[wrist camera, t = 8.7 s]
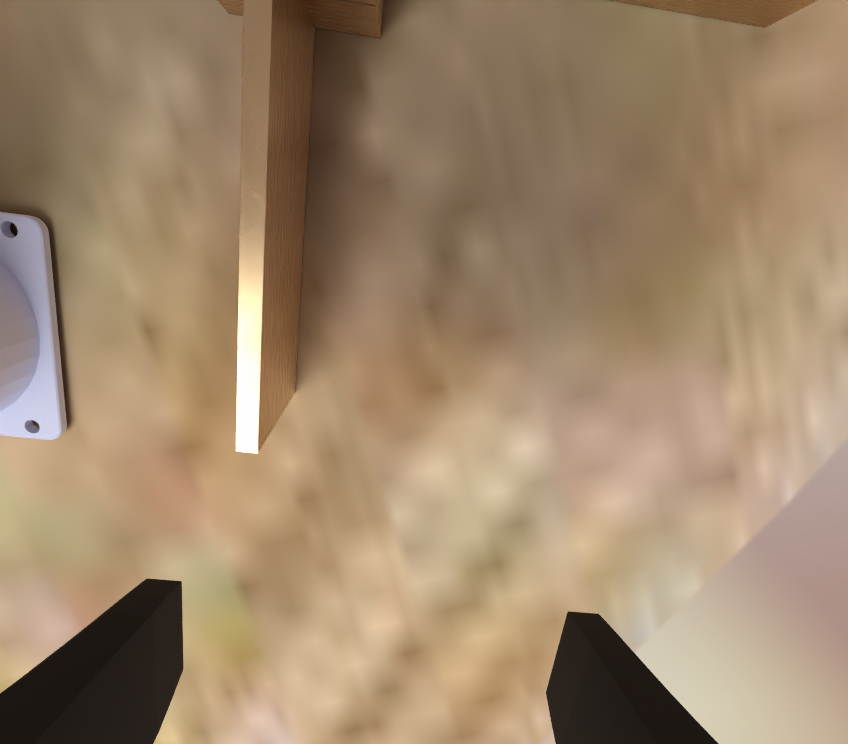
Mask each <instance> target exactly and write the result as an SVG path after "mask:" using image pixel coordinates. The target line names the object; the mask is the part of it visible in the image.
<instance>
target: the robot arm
mask: <svg viewBox="0 0 848 744" xmlns="http://www.w3.org/2000/svg"><path fill="white" fill-rule="evenodd" d="M11 223H14V224H15V225H16V227H17V230H18V233H17V236H14V235H13V234H12V233H11V230H10V224H11ZM32 420H33V421H36V422H37V423H38V424H39V427H40V429H39V428H37V427H35V426H34V425H33V422H32ZM66 429H67V421H66V411H65V400H64V389H63V379H62V368H61V357H60V346H59V336H58V325H57V314H56V304H55V293H54V282H53V272H52V261H51V250H50V239H49V232H48V228H47V226H46V225H45V223H44V222H43V221H42V220H40V219H39V218H37V217H34V216H30V215H23V214H15V213H7V212H0V435H4V436H14V437H24V438H35V439H45V440H53V439H56V438H58V437H59V436H61V435H63V434H64V433H65V431H66ZM182 671H183V629H182V581H170V580H157V579H146V580H145V581H143V582H142V583H141V584H139V585H138V586H137V587H135V588H134V589H133V590H132V591H130V592H129V593H128V594H127V595H125V596H124V597H123V598H122V599H120V600H119V601H118V602H117V603H115V604H114V605H113V606H112V607H110V608H109V609H108V610H107V611H105V612H104V613H103V614H102V615H100V616H99V617H98V618H97V619H96V620H94V621H93V622H92V623H91V624H89V625H88V626H87V627H86V628H84V629H83V630H82V631H81V632H79V633H78V634H77V635H76V636H74V637H73V638H72V639H71V640H69V641H68V642H67V643H65V644H64V645H63V646H62V647H60V648H59V649H58V650H56V651H55V652H54V653H53V654H51V655H50V656H49V657H47V658H46V659H45V660H44V661H42V662H41V663H40V664H38V665H37V666H36V667H35V668H33V669H32V670H31V671H29V672H28V673H27V674H26V675H24V676H23V677H22V678H20V679H19V680H18V681H16V682H15V683H14V684H12V685H11V686H10V687H8V688H7V689H6V690H4V691H3V692H2V693H0V744H153V742H154V740H155V738H156V736H157V734H158V732H159V730H160V727H161V725H162V722H163V720H164V717H165V715H166V712H167V710H168V707H169V705H170V702H171V700H172V697H173V695H174V692H175V689H176V687H177V684H178V681H179V679H180V676H181V674H182ZM546 695H547V700H548V706H549V711H550V717H551V722H552V727H553V732H554V737H555V742H556V744H718V743H717V742H716V741H715V740H714V739H713V738H712V737H711V736H710V735H709V734H708V732H707V731H706V730H704V728H703V727H701V725H700V724H699V723H698V722H697V721H696V720H695V719H694V718H693V717H692V716H691V715H690V714H689V713H688V711H687V710H686V709H685V708H684V707H683V706H682V705H681V704H680V703H679V702H678V701H677V700H676V699H675V697H674V696H673V695H672V694H671V693H670V692H669V691H668V690H667V689H666V688H665V687H664V686H663V684H662V683H661V682H660V681H659V680H658V679H657V678H656V677H655V676H654V675H653V673H652V672H651V671H650V670H649V669H648V668H647V667H646V666H645V664H643V662H642V661H641V660H640V659H639V658H638V657H637V656H636V654H635V653H634V652H633V651H632V650H631V649H630V648H629V647H628V646H627V644H626V643H625V642H624V641H623V640H622V639H621V638H620V637H619V635H618V634H617V633H616V632H615V631H614V630H613V629H612V628H611V627H610V626H609V624H608V623H607V622H606V621H605V620H604V619H603V618H602V617H601V616H600V615H599V614H593V613H580V612H568V613H567V617H566V620H565V624H564V628H563V631H562V635H561V639H560V643H559V646H558V650H557V654H556V657H555V661H554V665H553V669H552V672H551V676H550V680H549V683H548V687H547V691H546Z"/></svg>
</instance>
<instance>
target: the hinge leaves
mask: <svg viewBox="0 0 848 744" xmlns="http://www.w3.org/2000/svg"><path fill="white" fill-rule="evenodd" d="M218 1H219V2H220V4H221V5H222V6H223V7H224V8H225V9H226V11H227V12H228V13H230V14H236V15H242V16H244V25H243V81H242V136H241V192H240V247H239V302H238V358H237V413H236V451H238V452H248V453H258V452H259V450H260V449H261V447H262V445H263V444H264V442H265V441H266V439H267V437H268V436H269V434H270V432H271V431H272V429H273V428H274V426H275V424H276V423H277V421H278V420H279V418H280V416H281V415H282V413H283V411H284V410H285V408H286V407H287V405H288V403H289V402H290V400H291V399H292V397H293V395H294V394H295V386H296V368H297V350H298V332H299V314H300V296H301V278H302V260H303V242H304V224H305V206H306V188H307V170H308V152H309V134H310V116H311V98H312V80H313V62H314V44H315V28H322V29H328V30H334V31H340V32H346V33H352V34H358V35H364V36H370V37H377V38H380V37H381V26H382V15H383V4H384V0H218ZM612 1H618V2H623V3H629V4H635V5H640V6H646V7H652V8H658V9H663V10H669V11H675V12H680V13H686V14H692V15H697V16H703V17H709V18H715V19H720V20H726V21H732V22H737V23H743V24H749V25H754V26H760V27H767V26H769V25H771V24H773V23H775V22H777V21H779V20H781V19H783V18H784V17H786V16H788V15H790V14H792V13H794V12H796V11H798V10H800V9H802V8H804V7H806V6H807V5H809V4H811V3H813V2H815V1H817V0H612Z"/></svg>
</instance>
